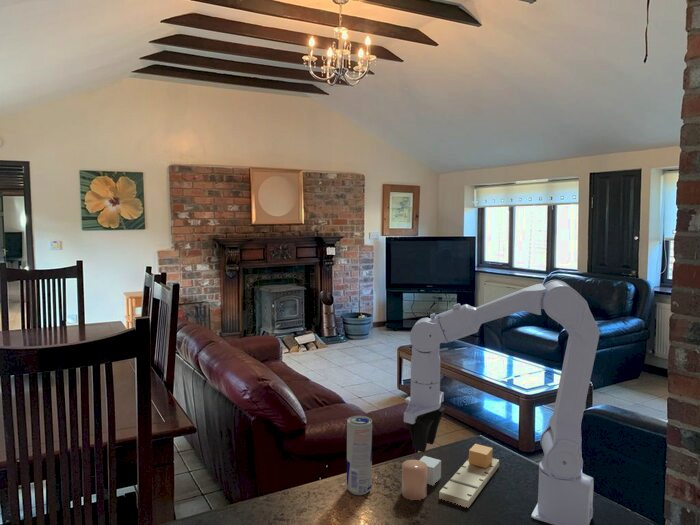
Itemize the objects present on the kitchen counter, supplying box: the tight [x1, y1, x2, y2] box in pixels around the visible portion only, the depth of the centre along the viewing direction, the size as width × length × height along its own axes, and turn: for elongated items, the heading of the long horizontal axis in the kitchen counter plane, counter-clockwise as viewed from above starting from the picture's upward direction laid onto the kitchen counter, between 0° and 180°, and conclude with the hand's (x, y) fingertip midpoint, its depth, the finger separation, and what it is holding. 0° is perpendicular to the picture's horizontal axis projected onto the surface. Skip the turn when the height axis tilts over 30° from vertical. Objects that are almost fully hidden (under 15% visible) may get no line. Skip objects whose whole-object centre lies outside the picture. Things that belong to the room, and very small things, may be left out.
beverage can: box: [346, 415, 373, 496], centre depth 105 cm, size 5×5×15 cm
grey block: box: [419, 455, 442, 487], centre depth 111 cm, size 4×4×4 cm
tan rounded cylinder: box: [401, 459, 428, 501], centre depth 105 cm, size 5×5×6 cm
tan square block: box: [468, 443, 494, 468], centre depth 114 cm, size 4×4×3 cm
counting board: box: [438, 457, 500, 509], centre depth 110 cm, size 6×20×2 cm, turn 147°
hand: (424, 446), depth 103 cm, fingers open, 3 cm apart
